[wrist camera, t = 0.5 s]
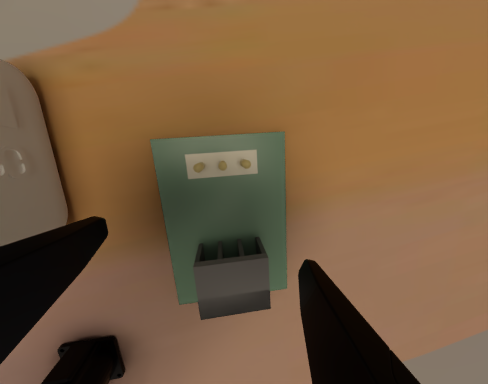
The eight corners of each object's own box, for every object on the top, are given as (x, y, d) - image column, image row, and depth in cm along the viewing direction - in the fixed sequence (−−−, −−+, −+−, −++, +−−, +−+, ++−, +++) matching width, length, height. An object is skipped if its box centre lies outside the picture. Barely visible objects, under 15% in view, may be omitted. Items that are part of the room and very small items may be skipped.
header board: (284, 284, 25) (296, 307, 21) (180, 299, 23) (172, 327, 19) (282, 132, 20) (295, 127, 16) (153, 140, 19) (136, 136, 15)
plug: (261, 279, 23) (270, 308, 19) (204, 287, 22) (200, 319, 18) (259, 236, 22) (268, 257, 17) (199, 243, 21) (192, 267, 17)
